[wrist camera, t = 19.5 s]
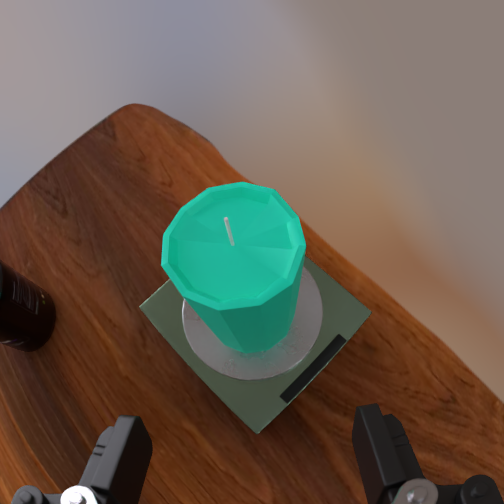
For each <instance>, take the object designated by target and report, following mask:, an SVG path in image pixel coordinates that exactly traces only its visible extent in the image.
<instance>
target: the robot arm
mask: <svg viewBox="0 0 504 504" xmlns="http://www.w3.org/2000/svg"><path fill="white" fill-rule="evenodd" d="M352 442H353V447H354V451H355V455H356V458H357V462H358V466H359V470H360V474H361V477H362V481H363V485H364V489H365V493H366V497H367V501H368V504H504V502H503V500H502V497H501V495H500V493H499V490H498V488H497V486H496V483H495V482H494V480H493V479H492V478H490V477H488V476H486V475H475V476H472V477H470V478H469V479H467V480H466V481H465V483H464V484H459V485H445V486H441V485H436V484H433V483H432V482H431V481H429V480H427V479H426V478H425V477H424V475H423V473H422V471H421V468H420V466H419V464H418V461H417V459H416V456H415V454H414V452H413V449H412V447H411V444H409V440H408V437H407V435H406V434H405V431H404V428H403V426H402V424H401V422H400V421H399V420H398V419H397V418H396V417H394V416H393V415H392V414H388V415H382V413H381V410H380V408H379V406H378V404H377V403H374V404H369V405H364V406H358V407H357V408H356V412H355V418H354V424H353V430H352ZM152 450H153V447H152V441H151V438H150V436H149V434H148V432H147V430H146V428H145V426H144V424H143V421H142V419H141V418H140V417H139V416H129V415H120V416H119V417H118V419H117V421H116V424H115V426H114V427H112V426H109V427H108V428H107V429H106V430H105V431H104V432H103V433H102V434H101V435H100V437H99V439H98V441H97V443H96V447H95V448H94V450H93V452H92V453H93V454H92V455H91V457H90V459H89V461H88V464H87V466H86V468H85V470H84V473H83V475H82V477H81V480H80V482H79V484H78V485H77V486H72V487H70V488H68V489H67V490H66V491H65V492H64V493H63V494H43V493H42V492H41V491H40V490H39V489H38V488H36V487H34V486H31V485H27V486H23V487H21V488H20V489H18V490H17V492H16V493H15V495H14V497H13V500H12V502H11V504H138V502H139V498H140V495H141V491H142V487H143V484H144V480H145V477H146V473H147V470H148V466H149V463H150V459H151V456H152Z"/></svg>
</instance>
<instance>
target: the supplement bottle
mask: <svg viewBox="0 0 504 504" xmlns="http://www.w3.org/2000/svg"><path fill="white" fill-rule="evenodd" d="M54 323H55V309H54V305H53V302H52V299H51V298H50V296H49V295H48V294H47V292H45V291H44V290H43V289H41V288H40V287H39V286H37V285H36V284H34V283H33V282H31V281H30V280H28V279H27V278H25V277H24V276H22V275H21V274H20V273H18V272H17V271H15V270H14V269H13V268H11V267H10V266H8V265H7V264H6V263H4V262H3V261H2V260H0V343H2V344H4V345H7V346H10V347H12V348H15V349H18V350H21V351H24V352H33V351H36V350H38V349H39V348H41V347H42V346H43V345H44V344H45V343H46V342H47V341H48V339H49V337H50V336H51V333H52V331H53V328H54Z"/></svg>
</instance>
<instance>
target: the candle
mask: <svg viewBox="0 0 504 504" xmlns="http://www.w3.org/2000/svg"><path fill="white" fill-rule="evenodd" d="M305 251H306V243H305V239H304V235H303V232H302V228H301V224H300V221H299V217H298V216H297V214H296V213H295V212H294V211H293V210H292V209H291V207H290V206H289V205H288V204H287V203H286V202H285V200H284V199H283V198H282V197H281V196H280V195H279V194H278V192H277V191H276V190H275V189H271V188H267V187H263V186H258V185H254V184H250V183H246V182H238V183H232V184H227V185H221V186H215V187H210V188H208V189H206V190H205V191H203V192H202V193H201V194H199V195H198V196H197V197H195V198H194V199H193V200H191V201H190V202H188V203H187V204H186V205H184V206H183V207H182V208H181V209H180V210H179V212H178V213H177V215H176V216H175V218H174V219H173V221H172V222H171V224H170V225H169V227H168V228H167V230H166V231H165V233H164V234H163V244H162V261H161V266H162V267H163V269H164V270H165V272H166V273H167V275H168V276H169V277H170V279H171V280H172V282H173V283H174V285H175V286H176V288H177V289H178V291H179V292H180V293H181V295H182V296H183V297H184V299H185V300H186V301H187V302H188V303H189V305H190V306H191V307H192V308H193V309H194V311H195V312H196V313H197V314H198V315H199V316H200V318H201V319H202V320H203V321H204V322H205V323H206V325H207V326H208V327H209V328H210V329H211V330H212V332H213V333H214V334H215V335H216V336H217V337H218V338H219V339H220V341H221V342H222V343H223V344H224V345H226V346H228V347H231V348H233V349H235V350H238V351H240V352H243V353H253V352H260V351H267V350H269V349H271V348H272V347H273V346H274V345H276V344H277V343H278V342H280V341H281V340H282V339H283V338H285V337H286V336H287V333H288V331H289V328H290V326H291V323H292V321H293V318H294V315H295V310H296V304H297V298H298V293H299V287H300V281H301V275H302V269H303V263H304V257H305Z"/></svg>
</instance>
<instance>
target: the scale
mask: <svg viewBox="0 0 504 504" xmlns="http://www.w3.org/2000/svg"><path fill="white" fill-rule="evenodd" d="M140 309H141V310H142V311H143V313H144V314H145V315H146V316H147V318H148V319H149V320H150V321H151V322H152V324H153V325H154V326H155V327H156V328H157V330H158V331H159V332H160V333H161V334H162V336H163V337H164V338H165V339H166V340H167V341H168V343H169V344H170V345H171V346H172V347H173V348H174V350H175V351H176V352H177V353H178V354H179V355H180V356H181V358H182V359H183V360H184V361H185V362H186V363H187V364H188V365H189V366H190V368H191V369H192V370H193V371H194V372H195V373H196V374H197V375H198V376H199V377H200V378H201V379H202V381H203V382H204V383H205V384H206V385H207V386H208V387H209V388H210V389H211V390H212V391H213V392H214V393H215V394H216V395H217V396H218V397H219V398H220V399H221V400H222V401H223V402H224V403H225V404H226V405H227V406H228V407H229V408H230V409H231V410H232V411H233V412H234V413H235V414H236V415H237V416H238V417H239V418H240V419H241V420H242V421H243V422H244V423H245V424H246V425H247V426H248V427H249V428H250V429H251V430H252V431H253V432H254V433H255V434H258V433H259V432H260V431H261V430H263V429H264V428H265V427H266V426H267V425H268V424H269V423H270V422H271V421H272V420H273V419H274V418H275V417H276V416H277V415H279V414H280V413H281V412H282V411H283V410H284V409H285V408H286V407H287V406H288V405H289V404H290V403H291V402H292V401H293V400H294V399H295V398H296V397H297V396H298V395H299V394H300V393H301V392H302V391H303V390H304V389H305V388H306V387H307V386H308V385H309V384H310V383H311V381H312V380H313V379H314V378H315V377H316V376H317V375H318V374H319V373H320V372H321V371H322V370H323V369H324V368H325V367H326V365H327V364H328V363H329V362H330V361H331V360H332V359H333V358H334V357H335V356H336V354H337V353H338V352H339V351H340V350H341V349H342V348H343V347H344V345H345V344H346V343H347V342H348V341H349V340H350V339H351V337H352V336H353V335H354V334H355V333H356V332H357V330H358V329H359V328H360V327H361V326H362V324H363V323H364V322H365V321H366V320H367V318H368V317H369V316H370V315H371V313H372V312H371V311H370V310H369V309H368V308H367V307H366V306H364V305H363V304H362V303H361V302H360V301H359V300H357V299H356V298H355V297H354V296H353V295H351V294H350V293H349V292H348V291H347V290H346V289H344V288H343V287H342V286H341V285H340V284H339V283H337V282H336V281H335V280H334V279H333V278H331V277H330V276H329V275H328V274H327V273H325V272H324V271H323V270H322V269H321V268H320V267H318V266H317V265H316V264H315V263H314V262H312V261H311V260H310V259H309V258H308V257H306V256H305V257H304V263H303V269H302V275H301V281H300V287H299V293H298V298H297V304H296V310H295V315H294V318H293V321H292V323H291V326H290V328H289V331H288V333H287V336H286V337H285V338H283V339H282V340H281V341H280V342H278V343H277V344H276V345H274V346H273V347H272V348H271V349H269V350H267V351H260V352H253V353H243V352H240V351H238V350H235V349H233V348H231V347H228V346H226V345H224V344H223V343H222V342H221V341H220V339H219V338H218V337H217V336H216V335H215V334H214V333H213V332H212V330H211V329H210V328H209V327H208V326H207V325H206V323H205V322H204V321H203V320H202V319H201V318H200V316H199V315H198V314H197V313H196V312H195V311H194V309H193V308H192V307H191V306H190V305H189V303H188V302H187V301H186V300H185V299H184V297H183V296H182V295H181V293H180V292H179V291H178V289H177V288H176V286H175V285H174V283H173V282H172V280H171V279H169V280H168V281H167V282H166V283H165V284H164V285H163V286H161V287H160V288H159V289H158V290H157V291H156V292H155V293H154V294H153V295H152V296H151V297H149V298H148V299H147V300H146V301H145V302H144V303H143V304H142V305H141V306H140Z"/></svg>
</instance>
